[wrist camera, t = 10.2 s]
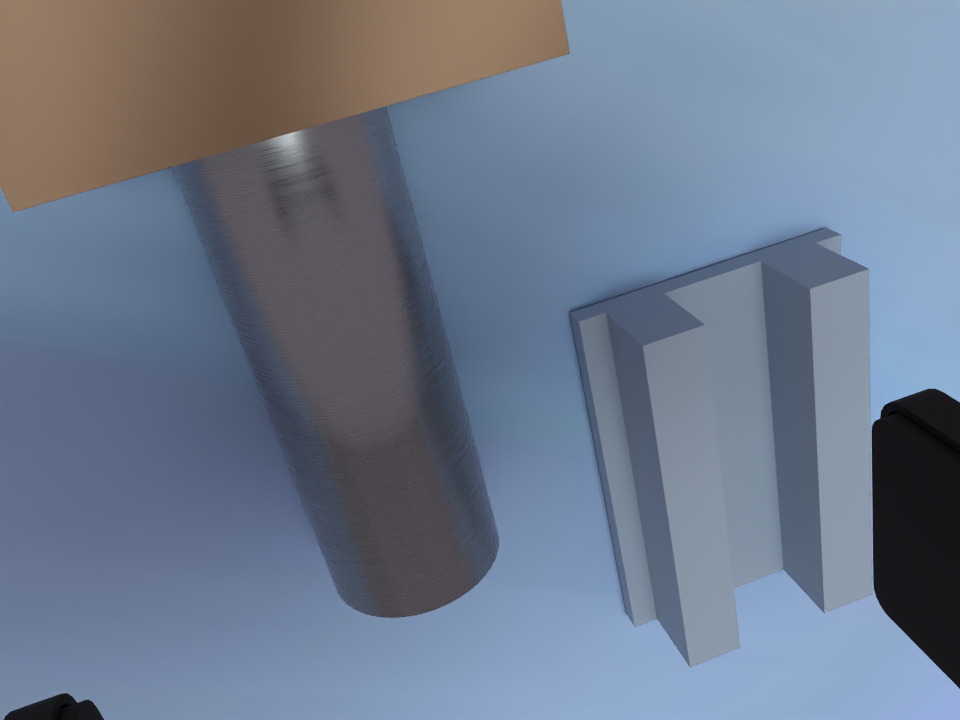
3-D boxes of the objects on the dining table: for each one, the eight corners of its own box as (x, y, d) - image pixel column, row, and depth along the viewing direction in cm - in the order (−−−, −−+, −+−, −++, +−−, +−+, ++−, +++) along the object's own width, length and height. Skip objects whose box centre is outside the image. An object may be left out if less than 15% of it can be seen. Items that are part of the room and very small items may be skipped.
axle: (481, 482, 23) (515, 585, 19) (330, 527, 23) (337, 639, 19) (205, -559, 14) (174, -727, 10) (-57, -505, 13) (-183, -657, 10)
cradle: (836, 531, 27) (894, 585, 25) (626, 613, 26) (666, 677, 24) (825, 227, 23) (895, 259, 20) (569, 312, 22) (613, 355, 19)
